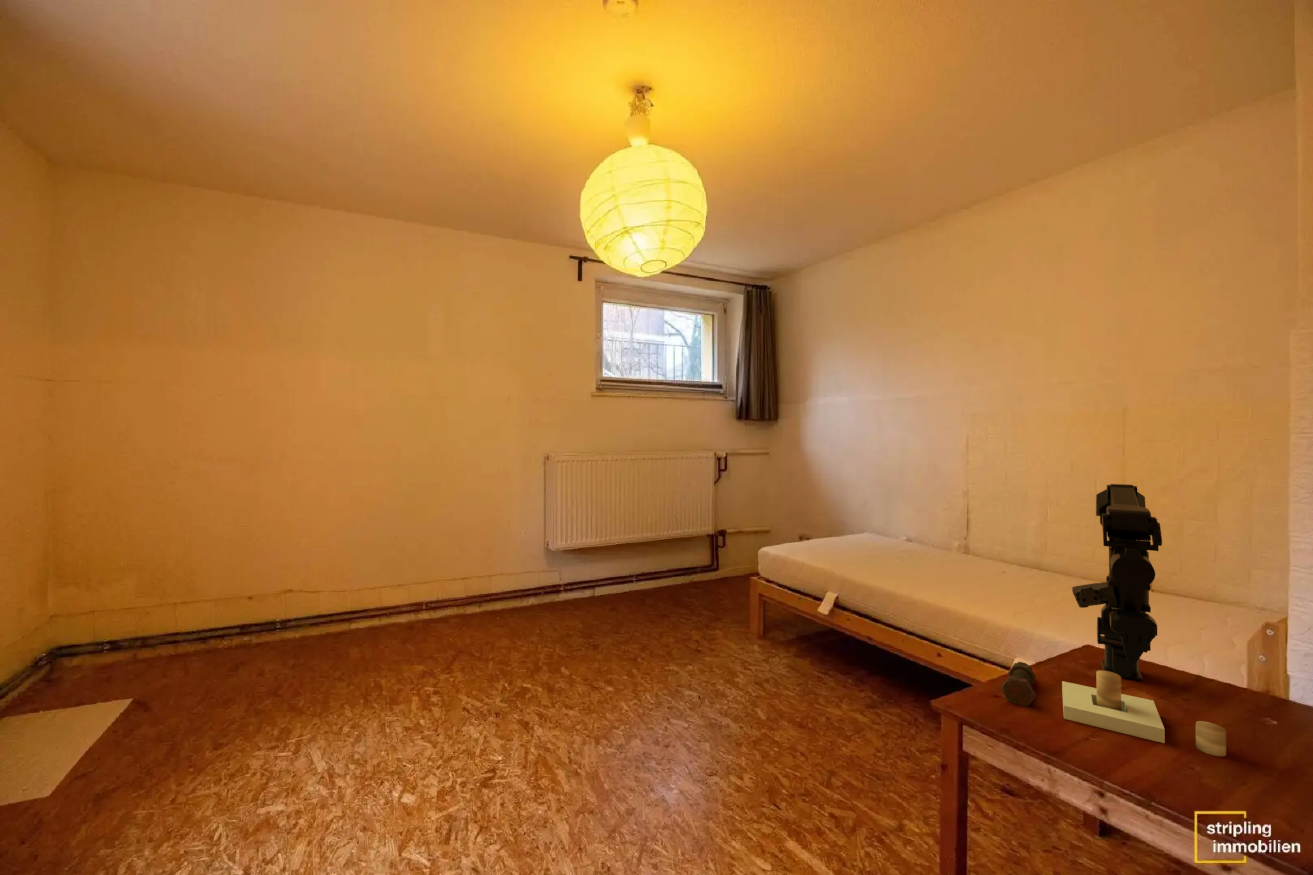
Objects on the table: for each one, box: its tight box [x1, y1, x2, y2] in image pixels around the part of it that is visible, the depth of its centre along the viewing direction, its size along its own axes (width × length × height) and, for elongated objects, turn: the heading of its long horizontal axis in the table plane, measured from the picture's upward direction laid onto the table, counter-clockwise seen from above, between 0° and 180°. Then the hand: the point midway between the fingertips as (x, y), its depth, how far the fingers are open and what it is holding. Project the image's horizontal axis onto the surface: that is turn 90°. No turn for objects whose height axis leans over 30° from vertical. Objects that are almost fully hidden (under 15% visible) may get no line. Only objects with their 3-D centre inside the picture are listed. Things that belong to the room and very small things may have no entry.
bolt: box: [1000, 661, 1037, 707], centre depth 112 cm, size 6×5×15 cm
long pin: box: [1095, 669, 1122, 711], centre depth 101 cm, size 4×4×8 cm
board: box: [1061, 680, 1166, 744], centre depth 101 cm, size 12×14×2 cm
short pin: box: [1195, 720, 1227, 757], centre depth 90 cm, size 4×4×4 cm
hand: (1128, 654), depth 101 cm, fingers open, 9 cm apart
